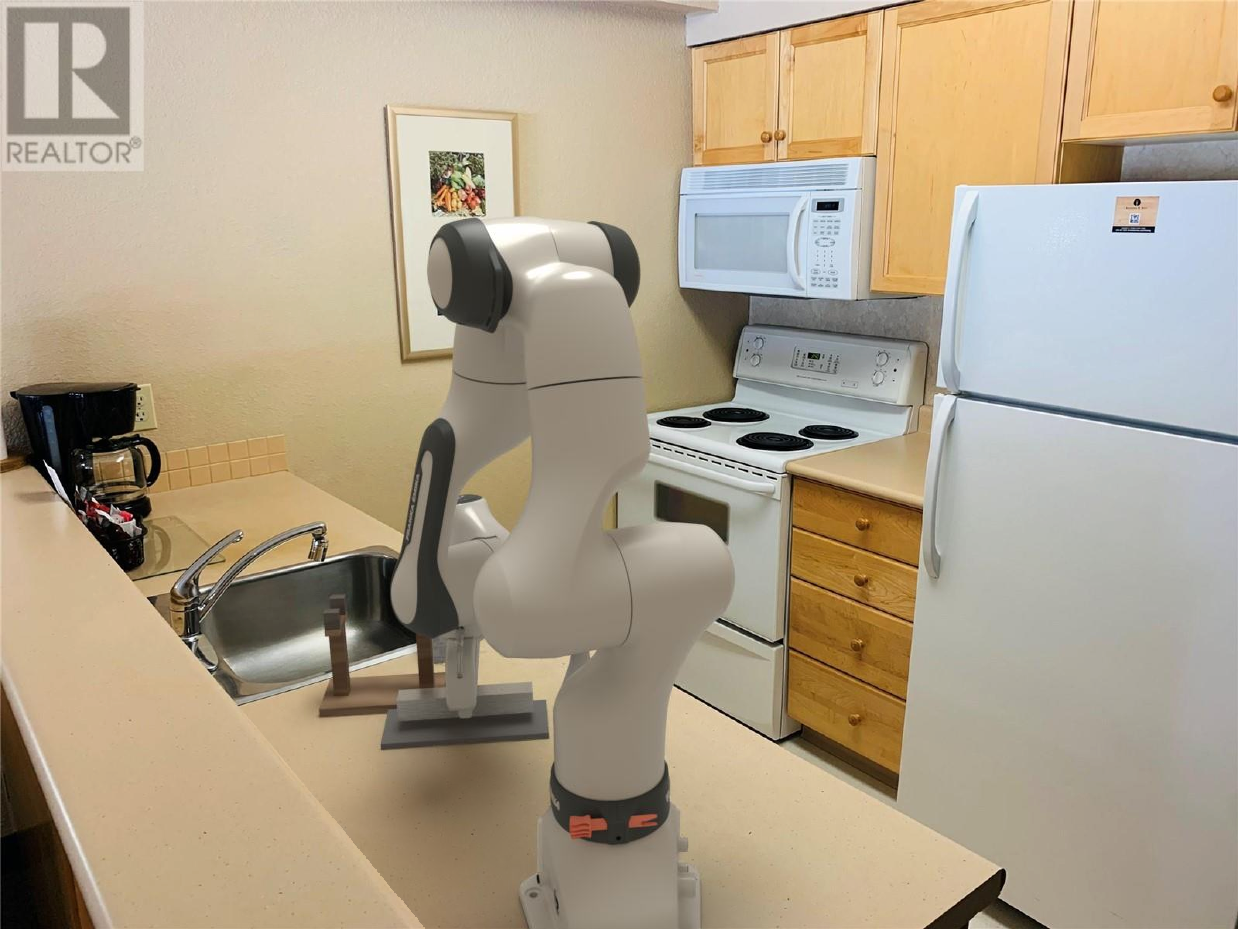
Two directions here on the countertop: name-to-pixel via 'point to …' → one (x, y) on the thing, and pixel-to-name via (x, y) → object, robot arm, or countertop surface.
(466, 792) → the countertop surface
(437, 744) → the rubber mat
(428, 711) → the steel rail
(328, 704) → the rail stand
